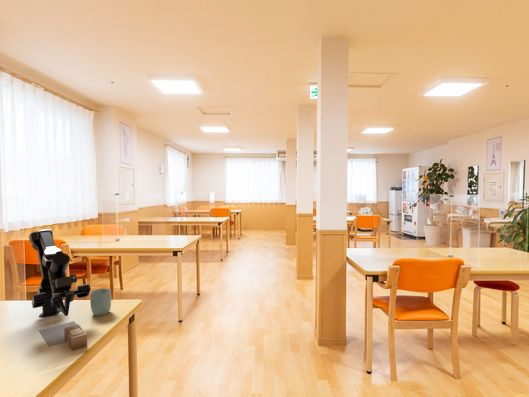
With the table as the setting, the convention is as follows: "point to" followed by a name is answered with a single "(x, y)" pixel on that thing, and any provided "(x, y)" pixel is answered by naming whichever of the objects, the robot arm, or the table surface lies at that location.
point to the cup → (100, 301)
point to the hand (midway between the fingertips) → (66, 315)
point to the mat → (55, 333)
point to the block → (75, 337)
